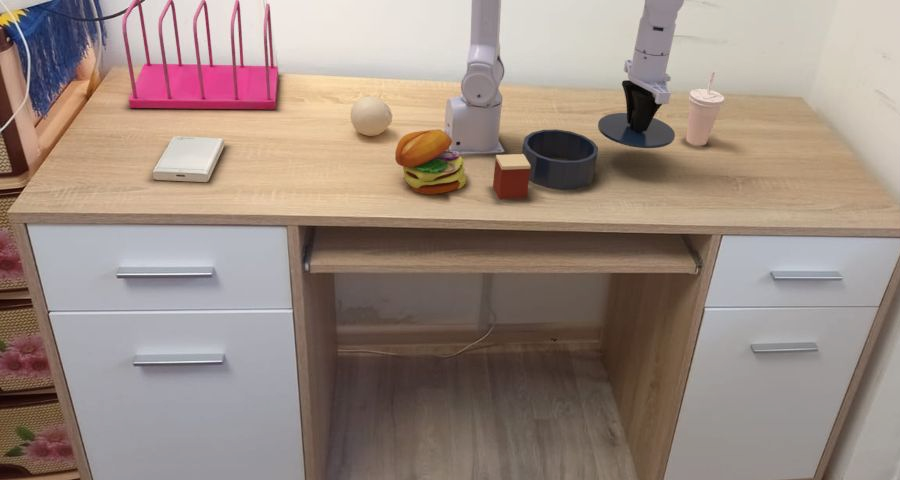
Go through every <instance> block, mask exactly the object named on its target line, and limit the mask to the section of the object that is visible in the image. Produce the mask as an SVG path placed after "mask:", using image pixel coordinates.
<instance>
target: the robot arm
mask: <svg viewBox="0 0 900 480" xmlns="http://www.w3.org/2000/svg"><path fill="white" fill-rule="evenodd" d="M684 4H685V0H644V5H643V11H642V15H641V17H640V20H639V23H638V29H637V35H636V39H635V44H634V50H633V55H632V59H624V66H623V71H624V72H625V73H627V79H628V80H627V79H626V80H622V82H621V86H622V88H623V92H624V97H625V104H626V113H627V122H628V124H630V123H631V118H632V112H633V109H634V108H635V114H634V130H635V131H636V132H638V131H647V129H648V127H649V125H650V123H651V121H652V119H653V118H655V116H656V113H657V112H658V111H659V109H660V108H661V106H663V105H669V102H670V98H671V93H672V92H670V90H669V89H668V83H667V82H671V78H672V77H671V76H670V75H669V74H668V73H667V69H668V63H669V58H670V54H671V49H672V45H673V39H674V35H675V30H676V27H677V24H676V21H677V19H678V14H679V13H678V12H679V11H680V10H681V9H682V7H683V6H684ZM501 9H502V0H471V11H470V12H471V14H470V41H469V43H470V45H469V51H468V55H467V62H466V71H465V74H464V75H463V77H462V79H461V81H460V91H461V92H460V95H458V96H456V97H455V96H454V97H449V98H448V99H446V102H445V103H446V104H445V115H444V129H443V130H444V131H443V132H445V133H446V134H447V135H448V136H449V137H450V138H451V140H452V144H451V145H450V147H449V148H448V150H449V151H453V152H456V153H458V154H459V155H476V154H479V155H480V154H503V153H505V149H504V148H503V147H504V146H503V145H502V143H501V142H500V140H499V136H500V128H501V117H502V107H503V95H502V93H501V91H500V89H499V88H500V85H501V82H502V80H503V79H504V76H505V71H506V70H505V65H504V62H503V61H502V59H501V44H500V31H501V30H500V29H501V12H502V10H501Z"/></svg>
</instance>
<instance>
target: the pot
mask: <svg viewBox="0 0 900 480" xmlns="http://www.w3.org/2000/svg"><path fill="white" fill-rule="evenodd" d="M598 152H599V147H598V146H597V144H596V143H595V142H594V140H592V139H590V138H588V137H587V136H586V135H583V134H579V133H576V132H573V131H570V130H564V129H554V128H553V129H541V130H537V131H533V132H530V133H529V134H527V135H526V136H524V139H523V143H522V150H521V154H524V155H525V157H526V159H527V160H528V162H529V164H530V165H531V167H530V175H529V182H531V183H533V184H534V185H538V186H540V187H544V188H546V189H551V190H552V189H553V190H559V191H567V190H569V191H570V190H578V189H582V188H584V187H588V186H589V185H590V184H591V183H592V182H594V178H595V171H596V165H597V160H598V156H599V155H598V154H599V153H598ZM555 158H557V159H555Z"/></svg>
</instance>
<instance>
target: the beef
mask: <svg viewBox="0 0 900 480" xmlns="http://www.w3.org/2000/svg"><path fill="white" fill-rule="evenodd" d="M530 167H531V165H530V164H529V162H528V160H527V159H526V157H525V155H524V154H522V153H515V154H514V153H513V154H512V153H511V154H496V155H495V160H494V171H493V183H492V189H493V191H494V192H495V194H496V196H497V198H498V199H499V200H510V199H527V198H528V191H529V190H528V189H529V182H530V180H529V175H530Z"/></svg>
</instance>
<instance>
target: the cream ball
mask: <svg viewBox="0 0 900 480" xmlns="http://www.w3.org/2000/svg"><path fill="white" fill-rule="evenodd" d="M350 122H351V124H352V127H353V129H354V130H355V131H357V132H358V133H359V134H361V135H364V136H368V137H374V136H378V135H381V134H382V133H383V132H385V130H387V128H388V127H390V125H391V124H392V122H393V113H392V110H391V108H390V107H389V105H388V104H387V103H386V102H385V101H384V100H382V99H381V98H379V97H375V96H363V97H360V98H358V99H357V100H356V101H355V102H354V103H353V105H352V107H351V109H350Z"/></svg>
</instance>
